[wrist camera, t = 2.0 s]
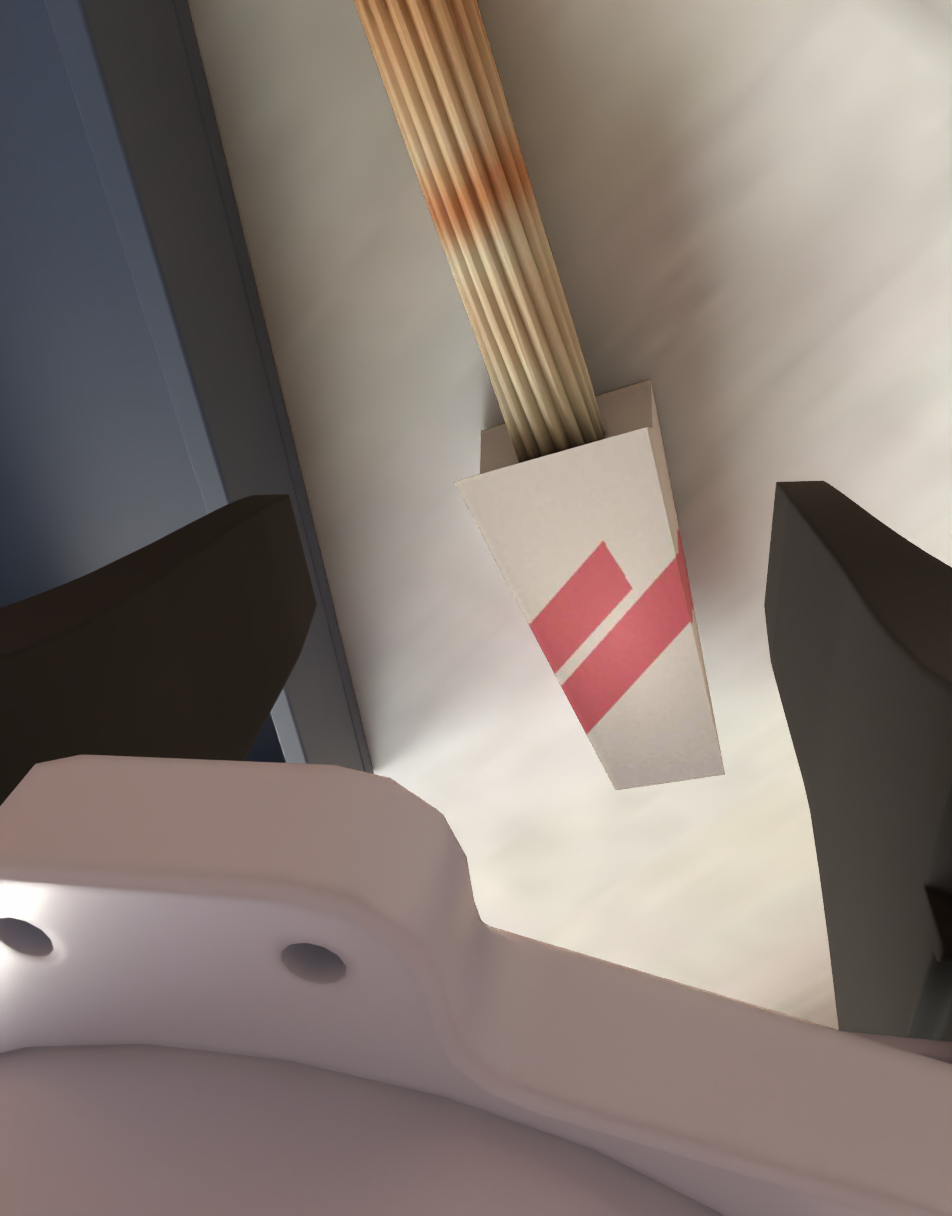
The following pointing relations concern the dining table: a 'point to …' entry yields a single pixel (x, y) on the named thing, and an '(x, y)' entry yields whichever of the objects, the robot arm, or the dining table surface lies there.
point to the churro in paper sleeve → (552, 420)
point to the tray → (137, 329)
